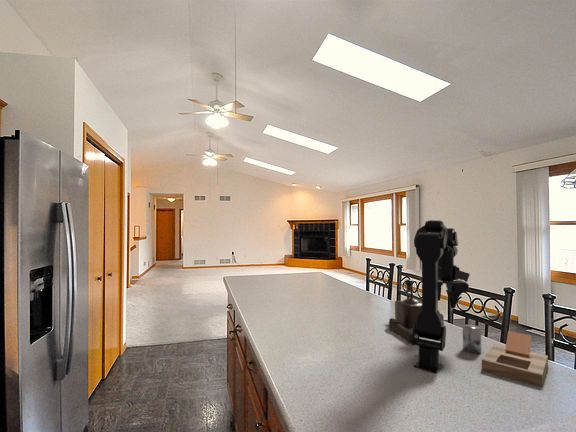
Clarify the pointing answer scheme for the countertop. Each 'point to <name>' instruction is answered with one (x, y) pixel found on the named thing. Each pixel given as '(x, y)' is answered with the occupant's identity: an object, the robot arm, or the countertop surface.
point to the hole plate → (516, 365)
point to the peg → (472, 339)
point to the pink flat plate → (518, 343)
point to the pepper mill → (408, 308)
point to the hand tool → (400, 329)
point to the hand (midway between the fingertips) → (445, 304)
